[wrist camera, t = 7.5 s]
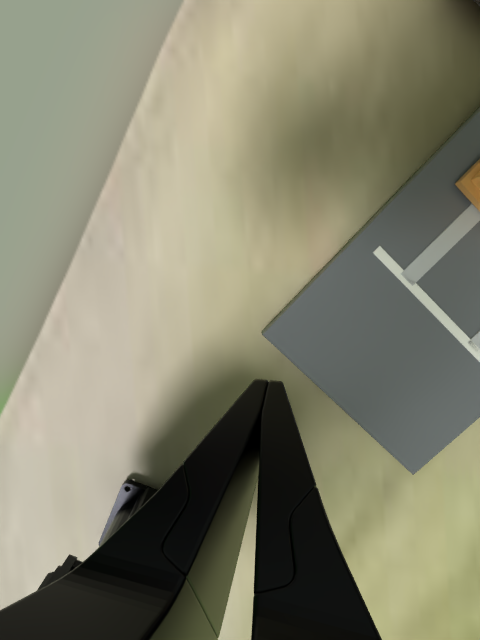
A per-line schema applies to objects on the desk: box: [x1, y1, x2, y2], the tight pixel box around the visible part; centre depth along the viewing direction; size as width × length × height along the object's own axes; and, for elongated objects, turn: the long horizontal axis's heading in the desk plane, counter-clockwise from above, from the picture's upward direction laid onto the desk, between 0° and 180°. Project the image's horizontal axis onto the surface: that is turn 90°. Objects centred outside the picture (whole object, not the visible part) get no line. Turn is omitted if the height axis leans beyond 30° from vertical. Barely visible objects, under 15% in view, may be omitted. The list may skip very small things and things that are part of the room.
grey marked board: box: [262, 107, 480, 475], centre depth 21 cm, size 24×16×1 cm, turn 137°
